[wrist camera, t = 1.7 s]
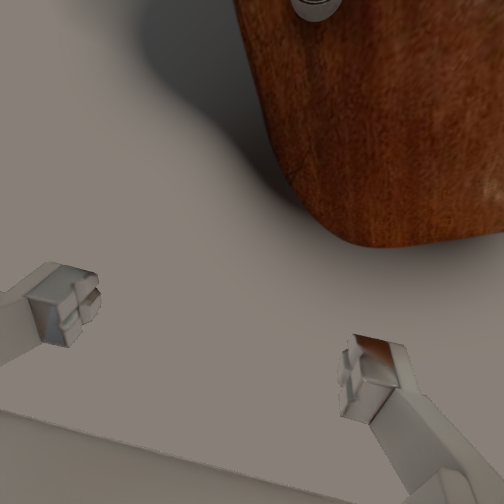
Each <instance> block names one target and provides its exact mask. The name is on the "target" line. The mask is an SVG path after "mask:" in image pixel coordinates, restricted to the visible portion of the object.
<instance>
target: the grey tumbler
mask: <svg viewBox="0 0 504 504" xmlns="http://www.w3.org/2000/svg"><path fill="white" fill-rule="evenodd" d="M290 1H291V3H292V6H293V8H294V10H295V11H296V13H297V14H298V15H299V16H300V17H301V18H303V19H304V20H306V21H309V22H319V21H322V20H325V19H327V18H328V17H330V16H331V15H332V14H333V13H334V12H335V11H336V10H337V8H338V7H339V5H340V4H341V2H342V0H290Z"/></svg>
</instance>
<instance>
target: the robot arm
mask: <svg viewBox="0 0 504 504" xmlns="http://www.w3.org/2000/svg"><path fill="white" fill-rule="evenodd" d="M98 284H99V279H98V275H97V274H96V273H94V272H90V271H86V270H82V269H79V268H75V267H71V266H67V265H62V264H58V263H55V262H51V261H50V262H46V263H44V264H42V265H41V266H40V267H38V268H37V269H36V270H34V271H33V272H32V273H30V274H29V275H28V276H26V277H25V278H24V279H22V280H21V281H20V282H19V283H17V284H16V285H15V286H13V287H12V288H11V289H9V290H8V291H7V292H0V366H2V365H4V364H6V363H8V362H10V361H11V360H13V359H15V358H17V357H19V356H20V355H22V354H24V353H26V352H28V351H29V350H31V349H33V348H35V347H37V346H39V345H41V344H42V342H43V343H48V344H52V345H57V346H61V347H66V348H70V346H71V345H72V344H73V343H74V342H75V340H76V339H77V338H78V337H79V336H80V334H81V333H82V332H83V327H82V325H84V324H87V323H89V322H91V321H92V320H93V319H94V318H95V316H96V315H97V313H98V311H99V309H100V306H101V293H100V292H99V291H98V289H97V288H96V286H97V285H98ZM347 343H348V349H347V350H345V351H343V352H342V354H341V356H340V359H339V364H338V369H337V379H338V383H339V384H340V386H341V387H342V390H341V392H340V394H339V406H340V416H341V417H344V418H348V419H351V420H355V421H359V422H362V423H365V424H369V427H370V429H371V430H372V432H373V434H374V435H375V437H376V439H377V441H378V442H379V444H380V446H381V447H382V449H383V451H384V452H385V454H386V456H387V458H388V459H389V461H390V463H391V464H392V466H393V468H394V469H395V471H396V473H397V474H398V476H399V478H400V480H401V481H402V483H403V485H404V486H405V488H406V490H407V492H408V493H409V495H410V496H409V497H408V498H407V499H406V500H405V501H404V502H402V503H401V504H504V479H503V478H502V477H501V476H500V475H499V474H498V473H497V472H496V470H495V469H494V468H493V467H492V466H491V465H490V464H489V463H488V462H487V461H486V459H484V457H483V456H482V455H481V454H480V453H479V452H478V451H477V450H476V449H475V448H474V447H473V445H472V444H471V443H470V442H469V441H468V440H467V439H466V438H465V437H464V436H463V435H462V433H461V432H460V431H459V430H458V429H457V428H456V427H455V426H454V425H453V424H452V423H451V422H450V420H449V419H448V418H447V417H446V416H445V415H444V414H443V413H442V412H441V411H440V410H439V408H438V407H437V406H436V405H435V404H434V403H433V402H432V401H431V400H430V399H429V398H428V397H427V395H423V394H421V392H420V389H419V386H418V383H417V380H416V377H415V374H414V371H413V368H412V365H411V361H410V358H409V355H408V352H407V349H406V347H405V346H404V345H402V344H397V343H393V342H388V341H383V340H379V339H374V338H370V337H366V336H361V335H356V334H352V335H351V336H350V338H349V340H348V342H347ZM0 504H355V503H352V502H348V501H344V500H340V499H337V498H333V497H329V496H325V495H322V494H318V493H314V492H310V491H306V490H302V489H299V488H295V487H292V486H288V485H284V484H280V483H277V482H273V481H269V480H265V479H262V478H258V477H254V476H250V475H247V474H243V473H239V472H235V471H231V470H228V469H224V468H220V467H217V466H213V465H209V464H205V463H202V462H198V461H194V460H190V459H186V458H183V457H179V456H175V455H172V454H168V453H164V452H160V451H157V450H153V449H149V448H145V447H141V446H138V445H134V444H130V443H126V442H123V441H119V440H115V439H111V438H107V437H104V436H100V435H96V434H93V433H88V432H85V431H81V430H78V429H74V428H70V427H66V426H62V425H59V424H55V423H51V422H47V421H44V420H40V419H36V418H32V417H29V416H25V415H21V414H17V413H13V412H10V411H6V410H2V409H0Z"/></svg>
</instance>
